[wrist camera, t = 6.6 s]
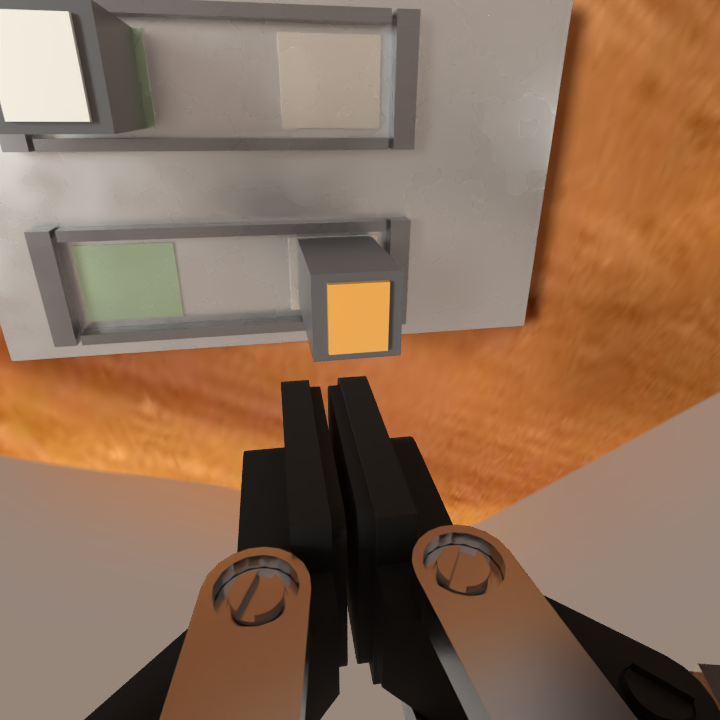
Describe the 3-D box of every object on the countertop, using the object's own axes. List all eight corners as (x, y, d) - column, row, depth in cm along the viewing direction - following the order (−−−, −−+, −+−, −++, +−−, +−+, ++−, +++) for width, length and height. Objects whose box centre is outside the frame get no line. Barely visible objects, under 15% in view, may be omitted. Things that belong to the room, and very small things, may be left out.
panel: (552, 1, 20) (586, -11, 18) (510, 314, 26) (531, 332, 24) (-84, -28, 17) (-131, -48, 15) (26, 346, 22) (3, 369, 20)
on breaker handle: (131, 27, 17) (87, -3, 12) (147, 128, 18) (112, 134, 14) (31, 24, 17) (-53, -9, 12) (54, 128, 18) (-13, 134, 13)
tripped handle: (371, 236, 21) (405, 272, 17) (370, 306, 22) (401, 357, 18) (297, 239, 21) (311, 276, 16) (300, 310, 22) (314, 364, 17)
